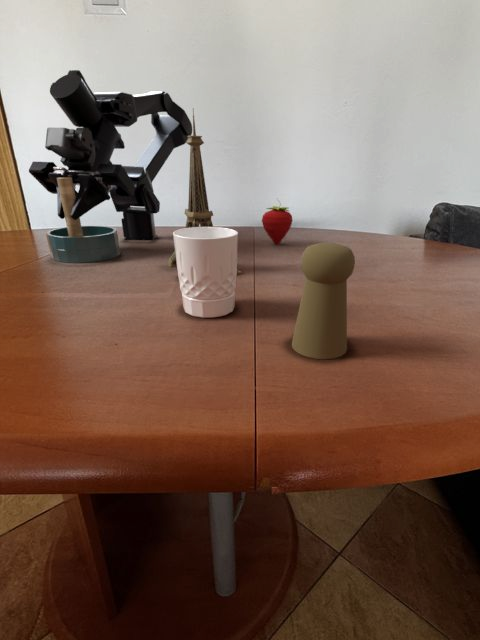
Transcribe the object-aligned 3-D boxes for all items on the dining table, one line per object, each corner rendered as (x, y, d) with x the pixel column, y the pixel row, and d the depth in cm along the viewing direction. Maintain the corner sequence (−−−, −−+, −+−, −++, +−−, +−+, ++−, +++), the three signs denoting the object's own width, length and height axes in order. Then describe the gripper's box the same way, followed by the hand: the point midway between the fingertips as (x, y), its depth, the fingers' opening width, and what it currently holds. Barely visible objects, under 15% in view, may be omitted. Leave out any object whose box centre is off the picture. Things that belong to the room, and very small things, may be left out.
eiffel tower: (241, 273, 66) (241, 103, 54) (184, 281, 61) (169, 97, 49) (216, 260, 74) (211, 109, 62) (163, 266, 69) (147, 104, 57)
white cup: (247, 303, 53) (247, 229, 48) (224, 324, 46) (221, 241, 42) (196, 296, 55) (192, 224, 50) (167, 314, 48) (159, 235, 44)
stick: (95, 250, 73) (82, 177, 67) (87, 256, 69) (72, 178, 63) (72, 250, 73) (57, 176, 67) (62, 256, 69) (45, 178, 63)
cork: (287, 334, 44) (293, 238, 39) (338, 333, 44) (350, 238, 39) (296, 359, 38) (304, 251, 33) (354, 358, 39) (370, 251, 34)
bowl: (128, 250, 79) (124, 226, 77) (109, 266, 68) (104, 237, 66) (68, 250, 79) (63, 225, 76) (40, 265, 68) (33, 236, 65)
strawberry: (256, 243, 89) (256, 197, 84) (281, 240, 92) (283, 196, 88) (270, 248, 84) (272, 200, 80) (296, 244, 88) (299, 199, 83)
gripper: (22, 110, 66) (-15, 182, 61) (115, 109, 61) (83, 187, 57) (65, 160, 76) (36, 225, 72) (147, 162, 72) (121, 232, 68)
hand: (66, 217), depth 67 cm, fingers closed on stick, 2 cm apart
